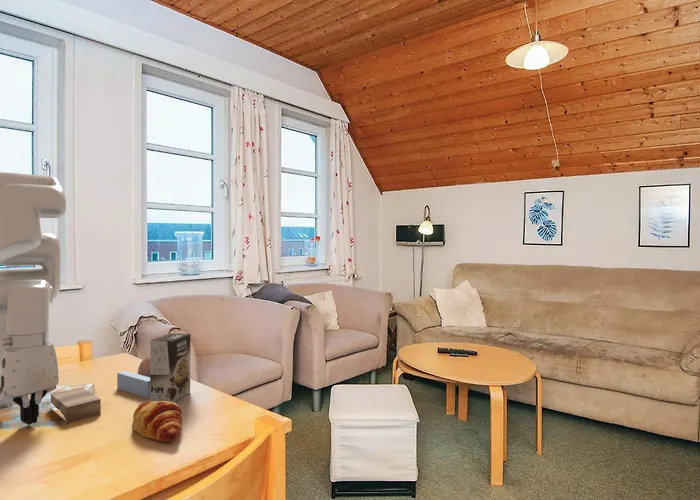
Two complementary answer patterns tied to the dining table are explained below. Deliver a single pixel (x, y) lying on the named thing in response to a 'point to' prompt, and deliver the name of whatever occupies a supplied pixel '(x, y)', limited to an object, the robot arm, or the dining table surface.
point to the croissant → (158, 420)
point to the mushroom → (145, 367)
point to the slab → (76, 404)
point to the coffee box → (170, 367)
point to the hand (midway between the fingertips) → (29, 422)
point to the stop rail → (134, 383)
